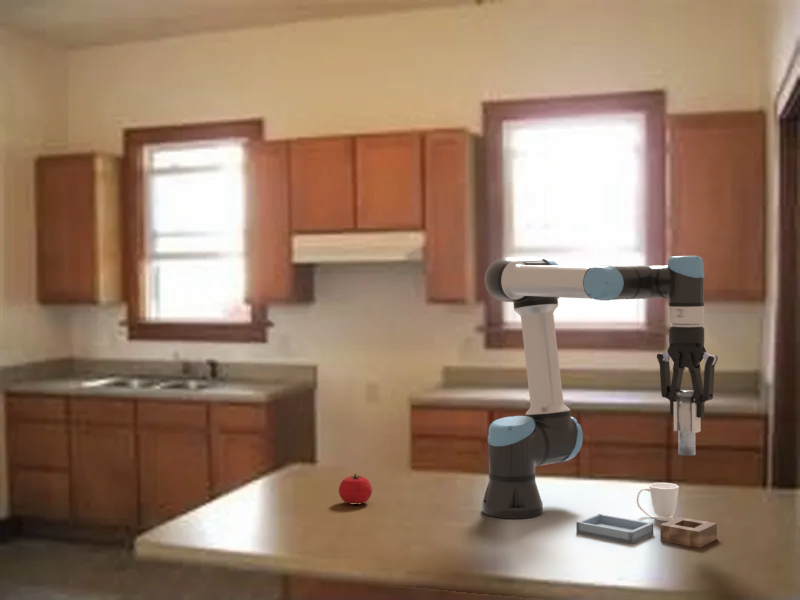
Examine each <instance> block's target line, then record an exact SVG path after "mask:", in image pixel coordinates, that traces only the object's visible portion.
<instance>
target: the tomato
mask: <svg viewBox="0 0 800 600" xmlns="http://www.w3.org/2000/svg"><path fill="white" fill-rule="evenodd" d="M372 492H373V487H372V484H371V482H370V481H369V479H368V478H367V477H366V476H362V475H357V474H356V473H354V475H349V476H347V477H345V478H344V479H342V481H341V482H340V484H339V487H338V494H339V497H340V498H341V501H343V502H344V503H346V502H347V503H363V502H365V503H366V502H367V501H368V500H369V499H370V498H371V496H372ZM347 503H346V504H347ZM363 504H364V503H363Z"/></svg>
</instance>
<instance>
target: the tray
mask: <svg viewBox="0 0 800 600" xmlns="http://www.w3.org/2000/svg"><path fill="white" fill-rule="evenodd" d="M575 525H576V534H577V535H579V534H580V535H583V536H585V535H586V536H588V537H589V536H590V537H595V538H600V539H604V540H609V541H615V542H620V543H624V544H629V545H633V544H635V543H637V542H640V541H641V540H644V539H647V538H649V537H651V536H654V523H653V522H647V521H643V520H636V519H630V518H625V517H620V516H619V517H618V516H614V515H613V516H612V515H608V514H602V513H597V514H595V515H593V516H590V517H587V518H584V519H582V520H578V521H576V524H575Z"/></svg>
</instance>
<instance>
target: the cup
mask: <svg viewBox="0 0 800 600" xmlns="http://www.w3.org/2000/svg"><path fill="white" fill-rule="evenodd" d="M648 486H649V487H644V488H641V489H640V490H639V492H638V493H637V496H636V504H637V507H638V508H639V510H641V512H642V513H644V514H645V515H647V516H648V517H650V518H652V519H655V520H657V521H660V522H661V521H662V522H668V521H670V520H673V519H675V518H674V517H673V516H674V515H675V514H676V513H675V512H676V509H677V503H678V497H679V496H678V495H679V491H680V490H679V489H680V486H679V485H677V484H676V483H670V482H653V483H651V484H648ZM642 491H646V492H650V499H651V504H652V505H651V506H652V508H653V512H654V514H655V515H652V514H650V513H649V512H648V511H646V510H645V509H644V508H643V507H642V506H641V504H640V502H639V497H640V494H641V492H642Z"/></svg>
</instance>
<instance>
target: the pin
mask: <svg viewBox="0 0 800 600" xmlns="http://www.w3.org/2000/svg"><path fill="white" fill-rule="evenodd" d="M675 396H678V431H677V432H678V437H677V438H678V455H679V456H684V457H687V456H689V457H690V456H691V457H692V456H696V450H697V449H696V433H692V403H694V401H695V397H694V391H693V389H692V390H691V389H680V390H678V391H675Z"/></svg>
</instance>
